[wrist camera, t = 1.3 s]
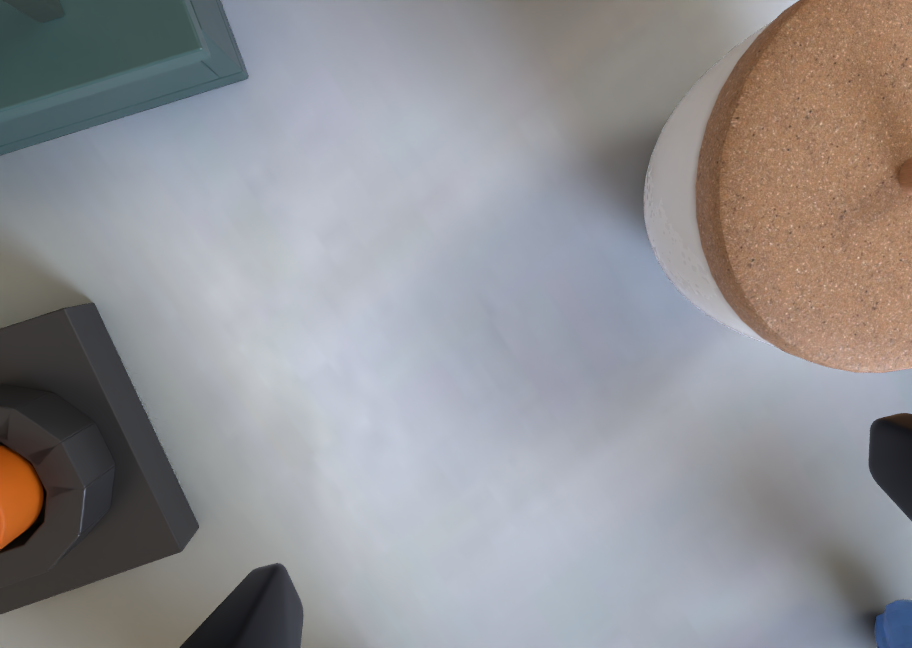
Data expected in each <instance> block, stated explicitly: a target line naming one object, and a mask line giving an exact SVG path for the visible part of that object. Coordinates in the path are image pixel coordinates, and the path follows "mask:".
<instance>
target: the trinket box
mask: <svg viewBox="0 0 912 648" xmlns="http://www.w3.org/2000/svg"><path fill="white" fill-rule="evenodd" d="M643 200H644V219H645V224H646V229H647V234H648V239H649V241H650V244H651V247H652V249H653V252H654V255H655V257H656V259H657V261H658V262H659V264H660V266H661V268H662V269H663V271H664V273H665V274H666V276H667V277H668V279H669V280H670V281H671V283H672V284H673V285H674V286H675V287H676V289H677V290H678V291H679V292H680V294H681V295H682V296H684V297H685V298H686V299H687V300H688V301H689V302H691V303H692V304H693V305H694V306H695V307H696V308H698V309H699V310H701V311H702V312H703V313H705V314H706V315H707V316H709V317H711V318H712V319H714V320H716V321H717V322H719V323H721V324H722V325H724V326H726V327H728V328H730V329H732V330H734V331H736V332H738V333H740V334H742V335H744V336H747V337H750V338H752V339H755V340H758V341H760V342H763V343H766V344H769V345H771V346H774V347H777V348H779V349H781V350H782V351H784V352H787V353H789V354H792V355H794V356H797V357H800V358H802V359H805V360H808V361H810V362H813V363H816V364H819V365H822V366H826V367H830V368H835V369H840V370H846V371H851V372H870V373H884V372H890V371H897V370H903V369H910V368H912V0H799V1H798V2H796V3H795V4H793V5H792V6H790V7H789V8H788V9H786V10H785V11H784V12H782V13H781V14H780V15H779V16H778V17H777V18H776V19H775V20H773V21H772V22H770V23H769V24H767V25H766V26H764V27H763V28H761V29H760V30H758V31H757V32H755V33H754V34H753V35H751V36H750V37H748V38H747V39H745V40H744V41H742V42H741V43H739V44H738V45H737V46H735V47H734V48H733V49H732V50H731V51H729V52H728V53H727V54H726V55H725V56H724V57H722V58H721V59H720V60H719V61H718V62H717V63H716V64H715V65H713V66H712V67H711V68H710V69H709V70H708V71H707V72H706V73H705V74H704V75H703V76H702V77H701V78H700V79H699V80H698V81H697V82H696V83H695V84H694V85H693V87H692V88H691V89H690V90H689V91H688V92H687V94H686V95H685V96H684V98H683V99H682V100H681V101H680V103H679V104H678V105H677V106H676V108H675V109H674V110H673V112H672V114H671V115H670V117H669V119H668V121H667V122H666V124H665V126H664V128H663V129H662V131H661V133H660V136H659V138H658V140H657V143H656V145H655V148H654V150H653V153H652V155H651V158H650V162H649V166H648V170H647V174H646V178H645V188H644V199H643Z"/></svg>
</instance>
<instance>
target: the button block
mask: <svg viewBox="0 0 912 648" xmlns="http://www.w3.org/2000/svg"><path fill="white" fill-rule="evenodd" d="M0 445H3V446H6V447H8V448H10V449H12V450H14V451H15V452H17V453H18V454H20V455H21V456H23V457H24V458H25V459H26V460H28V461H29V462H30V463H31V465H32V466H33V467H34V468H35V470H36V472H37V474H38V476H39V478H40V480H41V482H42V486H43V492H44V500H43V505H42V509H41V511H40V514H39V516H38V517H37V519H36V521H35V522H34V523H33V524H32V525H31V526H30V527H29V528H28V529H27V530H26V531H25V532H23V533H22V534H21V535H19V536H18V537H17V538H15V539H14V540H13V541H11V542H10V543H9V544H7V545H6V546H5V547H3V548H2V549H1V550H0V614H3V613H6V612H9V611H12V610H14V609H17V608H20V607H23V606H26V605H29V604H32V603H35V602H38V601H40V600H43V599H46V598H49V597H52V596H55V595H58V594H61V593H64V592H66V591H69V590H72V589H75V588H78V587H81V586H84V585H87V584H90V583H92V582H95V581H98V580H101V579H104V578H107V577H110V576H113V575H116V574H118V573H121V572H124V571H127V570H130V569H133V568H136V567H139V566H142V565H144V564H147V563H150V562H153V561H156V560H159V559H162V558H165V557H168V556H170V555H173V554H176V553H179V552H181V551H182V550H183V549H184V548H185V546H186V545H187V544H188V542H189V541H190V539H191V538H192V537H193V535H194V534H195V533H196V531H197V530H198V528H199V525H198V523H197V521H196V519H195V517H194V514H193V512H192V510H191V508H190V506H189V504H188V502H187V500H186V497H185V495H184V493H183V491H182V489H181V487H180V485H179V483H178V480H177V478H176V476H175V474H174V472H173V470H172V468H171V465H170V463H169V461H168V459H167V457H166V455H165V453H164V451H163V448H162V446H161V444H160V442H159V440H158V438H157V436H156V434H155V431H154V429H153V427H152V425H151V423H150V421H149V419H148V417H147V414H146V412H145V410H144V408H143V406H142V404H141V402H140V400H139V397H138V395H137V393H136V391H135V389H134V387H133V385H132V383H131V380H130V378H129V376H128V374H127V372H126V370H125V368H124V366H123V363H122V361H121V359H120V357H119V355H118V353H117V351H116V349H115V346H114V344H113V342H112V340H111V338H110V336H109V334H108V332H107V329H106V327H105V325H104V323H103V321H102V319H101V317H100V314H99V312H98V310H97V308H96V306H95V304H94V303H88V304H82V305H77V306H72V307H67V308H63V309H60V310H57V311H54V312H50V313H47V314H44V315H41V316H38V317H35V318H32V319H29V320H26V321H23V322H20V323H16V324H13V325H10V326H7V327H4V328H1V329H0Z"/></svg>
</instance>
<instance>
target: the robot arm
mask: <svg viewBox="0 0 912 648" xmlns="http://www.w3.org/2000/svg"><path fill="white" fill-rule="evenodd" d="M869 469H870V472H871V474H872V477H873V478H874V480H875V481H876V483H877V484H878V485H879V486H880V487H881V488H882V489H883V490H884V492H885V493H886V494H887V495H888V496H889V497H890V498H891V499H892V500H893V501H894V502H895V503H896V505H897V506H898V507H899V508H900V509H901V510H902V511H903V512H904V513H905V514H906V515H907V517H908V518H909V519H910V520H911V521H912V414H908V413H901V414H896V415H891V416H887V417H883V418H879V419H877V420H875V421H874V422H873V423H872V425H871V428H870V444H869ZM302 627H303V607H302V603H301V600H300V598H299V596H298V593H297V591H296V589H295V587H294V585H293V583H292V580H291V578H290V576H289V574H288V572H287V570H286V568H285V567H284V566H283V565H282V564H279V563H276V564H271V565H267V566H263V567H259V568H256V569H254V570H253V571H251V572H250V573H249V574H248V575H247V576H246V578H245V579H244V580H243V581H242V582H241V583H240V584H239V585H238V586H237V587H236V588H235V589H234V590H233V591H232V592H231V593H230V594H229V596H228V597H227V598H226V599H225V600H224V601H223V602H222V603H221V604H220V605H219V606H218V607H217V608H216V609H215V610H214V611H213V613H212V614H211V615H210V616H209V617H208V618H207V619H206V620H205V621H204V622H203V623H202V624H201V625H200V626H199V627H198V628H197V629H196V631H195V632H194V633H193V634H192V635H191V636H190V637H189V638H188V639H187V640H186V641H185V642H184V643H183V644H182V645H181V646H180V648H301V637H302Z"/></svg>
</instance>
